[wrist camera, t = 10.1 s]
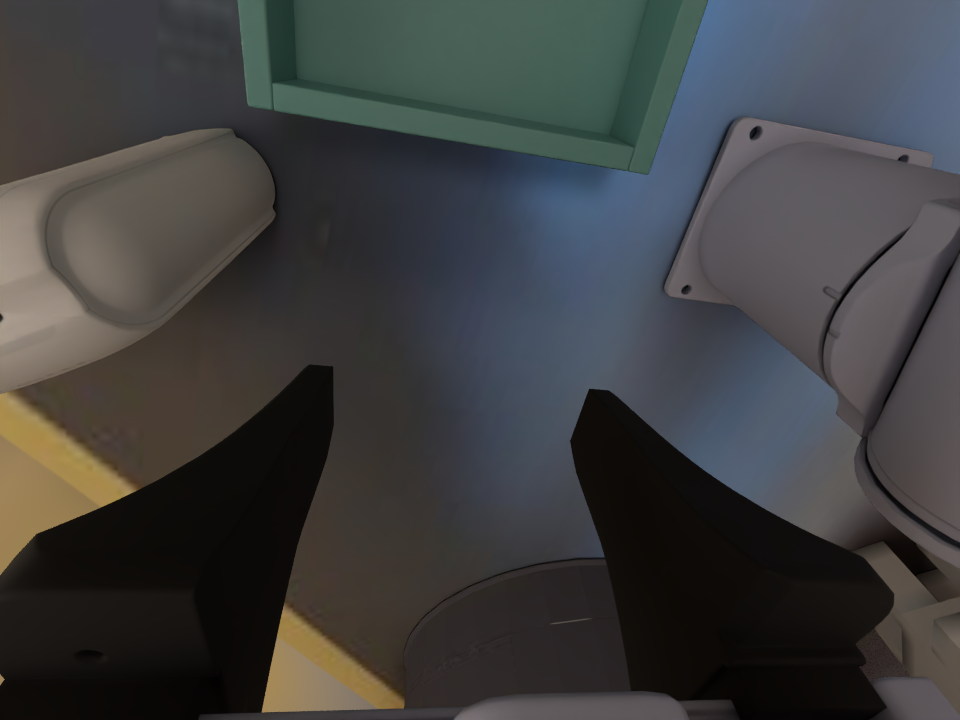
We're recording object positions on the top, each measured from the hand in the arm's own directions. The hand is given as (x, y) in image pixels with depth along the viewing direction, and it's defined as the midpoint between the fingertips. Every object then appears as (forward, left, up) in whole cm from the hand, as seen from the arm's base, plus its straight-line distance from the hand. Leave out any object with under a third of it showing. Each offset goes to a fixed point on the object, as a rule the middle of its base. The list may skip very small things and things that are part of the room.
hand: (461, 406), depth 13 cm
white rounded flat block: (+13, -1, -11) cm, 17 cm away
